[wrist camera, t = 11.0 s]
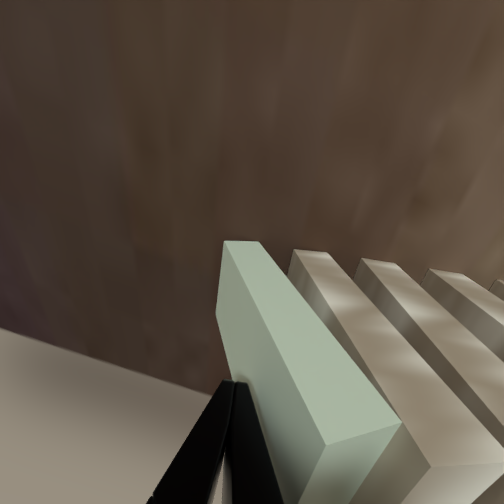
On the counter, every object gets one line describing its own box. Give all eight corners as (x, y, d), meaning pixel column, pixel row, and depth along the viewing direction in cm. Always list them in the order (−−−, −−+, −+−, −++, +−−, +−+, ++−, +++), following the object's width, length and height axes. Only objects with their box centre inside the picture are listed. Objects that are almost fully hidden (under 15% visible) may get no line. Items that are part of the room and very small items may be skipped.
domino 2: (326, 252, 14) (516, 462, 5) (306, 320, 16) (412, 557, 7) (293, 249, 14) (431, 466, 5) (276, 319, 16) (349, 565, 7)
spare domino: (258, 241, 14) (402, 422, 5) (245, 311, 16) (335, 523, 7) (224, 240, 13) (326, 445, 5) (215, 313, 15) (275, 549, 7)
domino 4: (462, 274, 14) (829, 514, 5) (424, 339, 16) (633, 594, 7) (428, 268, 14) (734, 500, 5) (395, 334, 16) (566, 584, 7)
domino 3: (395, 263, 14) (640, 486, 5) (365, 330, 16) (499, 576, 7) (361, 258, 14) (543, 472, 5) (335, 325, 16) (429, 565, 7)
